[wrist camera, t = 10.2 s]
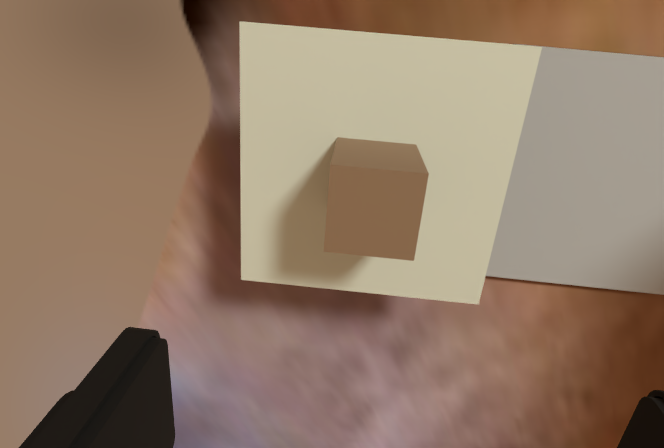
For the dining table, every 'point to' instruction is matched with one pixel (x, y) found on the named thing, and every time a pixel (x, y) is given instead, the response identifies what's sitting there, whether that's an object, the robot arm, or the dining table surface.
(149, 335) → the robot arm
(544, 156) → the mat
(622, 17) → the dining table surface
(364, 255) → the lid
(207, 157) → the dining table surface
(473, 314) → the dining table surface
